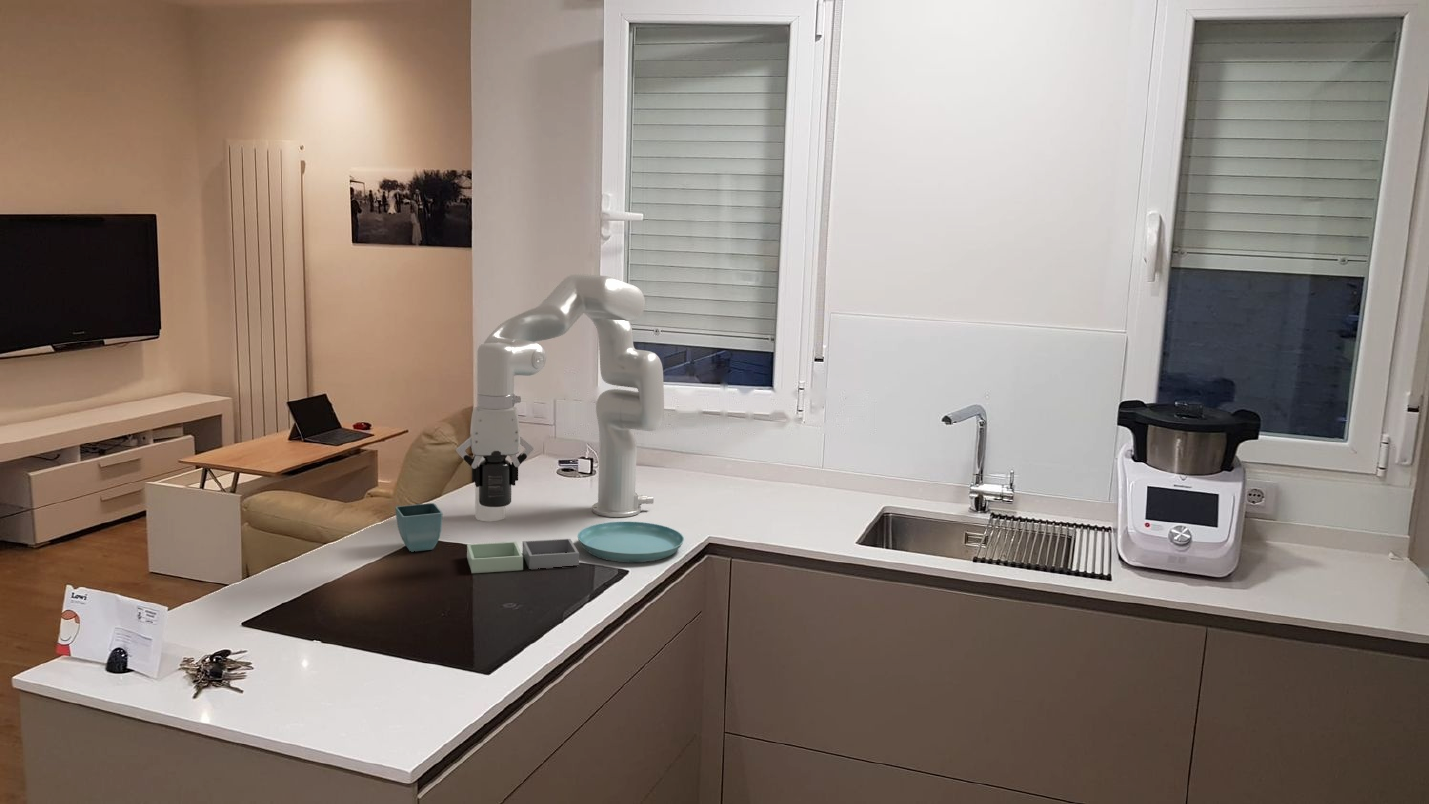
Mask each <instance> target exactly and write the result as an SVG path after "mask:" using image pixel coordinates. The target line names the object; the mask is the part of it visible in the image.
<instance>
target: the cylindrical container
mask: <svg viewBox="0 0 1429 804" xmlns="http://www.w3.org/2000/svg"><path fill="white" fill-rule="evenodd" d="M483 460H484V458H483V456H482V458H481V460H480V462H479V464H480V463H481V462H482V461H483ZM479 464H478V466H479ZM474 485H475V484H474ZM474 490H475V492H474V493H475V500H474V501H475V502H474V503H475V505H474V506H475V513H474V514H475V515H474V516H475V517H474V518H475V519H476V520H478V521H482V522H497V521H502V520H504V519H505V516H506V510H505V509H506V506H503V507H486V506H482V505H481V504H480V503H479V487H476V485H475V489H474Z"/></svg>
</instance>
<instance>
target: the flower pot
mask: <svg viewBox="0 0 1429 804" xmlns="http://www.w3.org/2000/svg"><path fill="white" fill-rule="evenodd" d="M394 509H395V517H396V523H397V529H398V532H399V535H400V538H401V541H403V543H404V545H405V547H406V548H407V550H408V551H409V552H410V551H411V553H413V552H414V551H415V552H423V551H430V550H434V549H435V547H436V545H437V544H438V542H439V540H440V536H441V533H442V525H443V524H442V523H443V513H444V512H443V511H442V510H441V509H440V508H439V507H438V506H437V505H436V503H434V502H431V503H430V502H429V503H418V504H411V505H409V504H407V505H398V506H395V508H394Z"/></svg>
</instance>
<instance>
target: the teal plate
mask: <svg viewBox="0 0 1429 804" xmlns="http://www.w3.org/2000/svg"><path fill="white" fill-rule="evenodd" d="M577 539H578V541H579V543H580V545H581V546H582V547H583V549H584V550H586V551H587V552H588V553H590V554H591V555H592V556H594V557H596V556H597V558H600V559H601V560H605V559H607V561H610V560H611V562H616V561H619V562H618V563H629V562H637V563H647V562H646V561H650V562H655V560H656V561H659V560H663V558H664V559H666V558H669V557H670V556H672V555H674V553H676V552H677V551H679V549H680V548H681V547H682V545H683V543H684V541H685V537H684V535H683V534H682V533H681V532H679V531H678V530H676V529H674V528H672V527H669V526H664V525H660V524H658V523H657V524H656V523H650V522H649V523H648V522H641V521H611V522H602V523H598V524H592V525H590V526H587V527H585V528H583V529H581V530H580V531H579V532H578V533H577Z"/></svg>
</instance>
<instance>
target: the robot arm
mask: <svg viewBox="0 0 1429 804" xmlns="http://www.w3.org/2000/svg"><path fill="white" fill-rule="evenodd" d="M645 306H646V300H645V295H644V293H643V292H642V290H641V289H640V288H639V287H637V286H636V285H633V284H631V283H628V282H625V281H623V280H619V279H617V278H615V277H611V276H607V275H598V274H597V275H596V274H584V273H582V274H581V273H576V274H571V275H569V276H567V277H565V278H564V279H563V280H562V281H561V282H560V283H559V284H558V285H557V286H556V287H555V288H554V289H553V290H552V291H551V292H550V294H549V295H548V296H547V297H545V299H544V300H543V301H542V302H541V303H540V304H538V306H535V307H534V308H530V309H528V310H526V311H523V312H522V313H519V314H517V315H515V316H512V317H510V318H508V319H506V320H504V321H503V322H502V323H500V324H499V325H498V326H497V327H496V328H495V329H494V330H493V331H492V332H491V333H490V334H489V335H488V336H487V338H486V339H485V340H484V342H483V343H482V344H480V345H479V346H478V347H477V351H476V353H477V357H476V361H477V362H476V366H477V367H476V369H477V370H476V372H477V373H476V382H477V383H476V385H477V387H476V388H477V392H476V407H475V406H474V407H473V408H472V413H471V418H470V419H471V420H470V431H469V432H470V433H469V437H468V438H467V439H466V440H465V441H463V442H462V443H461V444H460V445H459V446H458V447H456V448H455V449H456V450H455V451H456V453H457V454H458V455H459V456H460V457H461V458H462V460H464V461H465V463H467V464H468V465H469V466H470V467H471V482H472V483H474V485H476V487H479V486H480V469H479V466H478V464H479V462H480V460H481V458H482V456H489V455H491V453H492V452H493V451H499V452H501V455H504V456H507V457H509V458H510V461H511V463H510V464H511V486H513V487H514V486H516V482H517V481H519V467H520V465H521V464H522V463H524V461H526V460H527V458H528V456H530V454H531V453H532V452H533V451H534V447H533V445H532V444H531V443H529V442H528V441H527V440H526V439H524V438H523V437H522V436H521V434H520V420H519V413H518V409H517V406H515V405H516V404H518V403H521V401H522V400H521V399H522V398H521V396H518V395H515V389H514V388H515V377H516V376H534V375H536V374H539V372H541V371H542V369H544V367H545V364H546V361H547V354H546V351H545V349H544V347H543V346H542V345H541V344H539V343H538V342H540V341H547V340H550V339H555V338H558V337H562V336H563V335H565V334H566V333H567V332H568V331H569V330H570V329H571V328H572V327H573V325H575V323H576V322H577V321H578V320H579V318H580V317H582V316H583V314H584V315H585V316H587V317H588V318H589V319H590V320H591V322H592V323H593V324H594V326H595V329H596V331H597V336H598V351H599V370H600V375H601V379H602V381H603V382H604V383H605V384H608V385H612V386H616V387H617V386H618V387H625V388H632V389H636V390H637V391H634V390H627V389H621V388H617V389H616V388H612V389H607V390H605V391H603V392H601V394H600V395H599V396H598V397H597V401H596V404H595V405H596V406H595V412H596V413H595V414H596V419H597V425H598V437H599V440H598V443H599V445H598V450H599V451H598V488H597V489H598V492H597V493H598V494H597V497H598V498H597V502H595V503H593V504H592V505H591V511H592V513H594V514H595V515H598V516H603V517H609V518H627V517H633V516H636V515H638V514H640V513H641V511H642V505H644V504H646V505H651V504H652V505H653V504H654V496H652V495H651V496H650V495H648V496H647V495H646V494H644V495H643V494H641V495H638V493H636V485H637V484H636V481H637V454H638V453H637V449H638V448H637V447H638V446H637V441H636V437H635V435H634V432H633V431H632V430H634V431H635V430H637V431H642V432H643V431H644V432H653V431H656V430H657V429H659V428H660V427H661V425H662V424H663V421H664V417H665V389H664V388H665V387H664V368H663V363H662V360H661V359H660V357H659V356H658V355H657V354H656V353H655V352H652V351H649V350H644V349H643V350H642V349H636V348H635V346H634V340H633V339H634V338H633V337H634V335H633V329H632V328H633V327H632V324H631V322H635V321H636V320H639V318H640V317H641V316H642V315H643V313H644V310H645V308H646V307H645ZM521 446H522V448H524V449H523V451H522V452H521V453H520V454H519V452H520V449H521ZM469 448H470V451H471V453H472V454H473V456H472V457H471V456H470V455H469V454H468V453H467V452H466V450H467V449H469ZM518 454H519V455H518Z"/></svg>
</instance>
